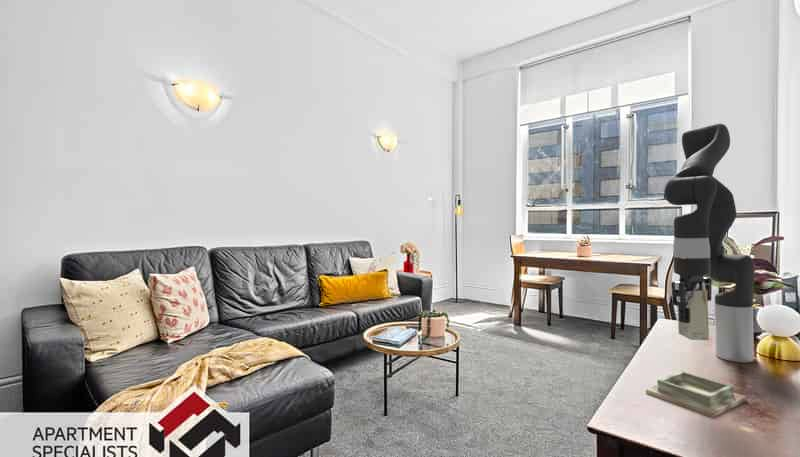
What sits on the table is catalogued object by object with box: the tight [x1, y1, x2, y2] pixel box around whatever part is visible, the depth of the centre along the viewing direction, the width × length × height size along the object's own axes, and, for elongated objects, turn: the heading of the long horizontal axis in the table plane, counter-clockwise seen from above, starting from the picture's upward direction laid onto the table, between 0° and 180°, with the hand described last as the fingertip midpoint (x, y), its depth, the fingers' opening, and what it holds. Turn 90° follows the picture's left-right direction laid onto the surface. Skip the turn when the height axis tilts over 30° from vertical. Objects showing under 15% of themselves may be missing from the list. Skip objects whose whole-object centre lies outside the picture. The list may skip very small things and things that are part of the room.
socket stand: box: [645, 370, 747, 418], centre depth 100 cm, size 16×15×4 cm
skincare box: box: [677, 290, 710, 341], centre depth 100 cm, size 6×4×12 cm
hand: (692, 320), depth 100 cm, fingers closed on skincare box, 7 cm apart
